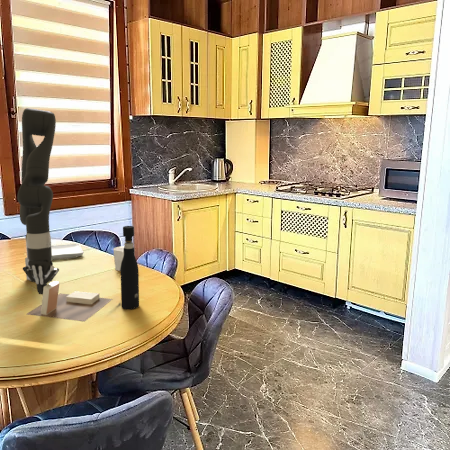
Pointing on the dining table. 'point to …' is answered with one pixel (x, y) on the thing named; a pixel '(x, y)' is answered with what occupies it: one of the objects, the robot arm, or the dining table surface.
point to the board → (72, 309)
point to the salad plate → (66, 251)
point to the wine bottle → (129, 273)
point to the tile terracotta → (50, 297)
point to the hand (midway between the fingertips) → (42, 293)
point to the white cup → (118, 257)
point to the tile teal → (82, 297)
